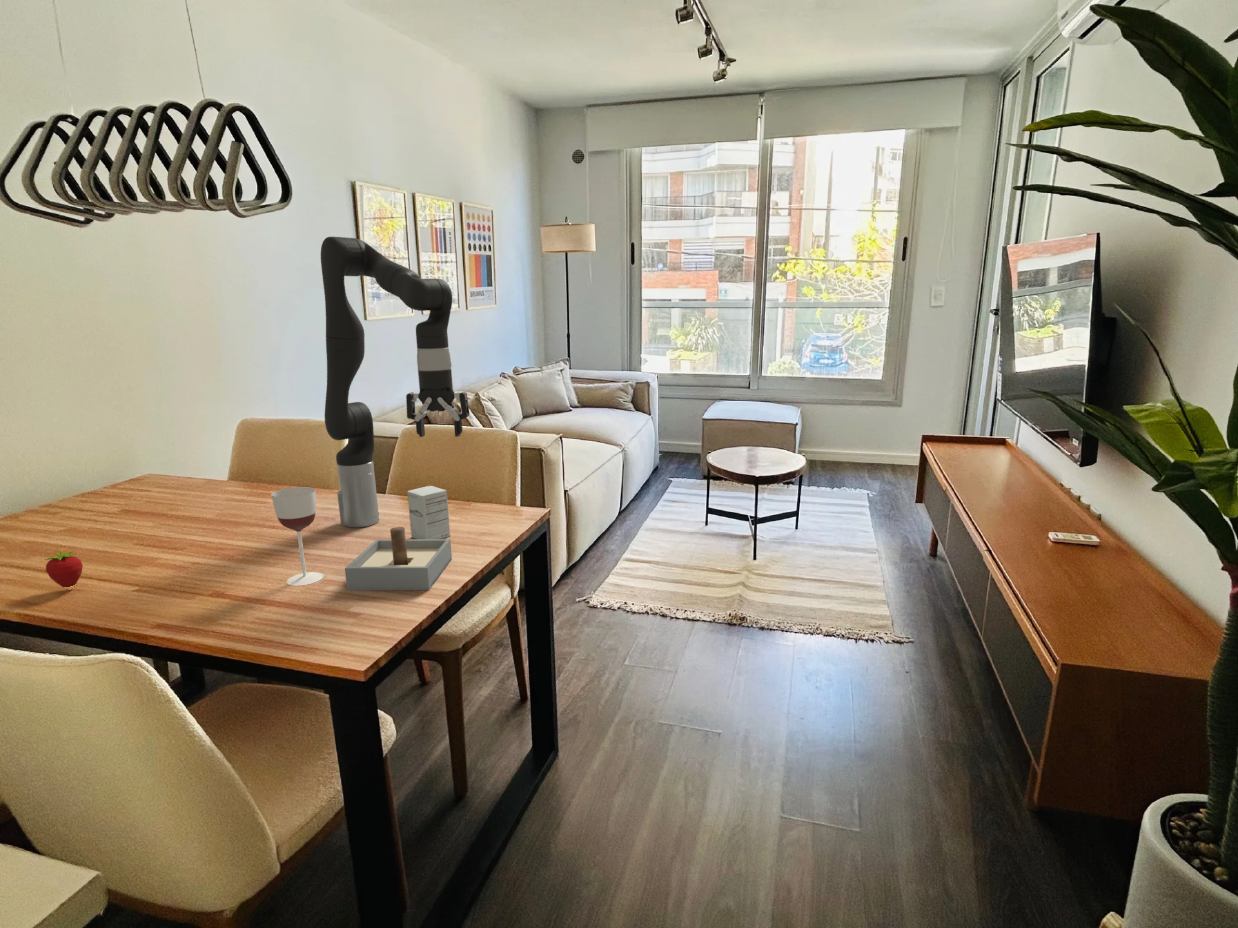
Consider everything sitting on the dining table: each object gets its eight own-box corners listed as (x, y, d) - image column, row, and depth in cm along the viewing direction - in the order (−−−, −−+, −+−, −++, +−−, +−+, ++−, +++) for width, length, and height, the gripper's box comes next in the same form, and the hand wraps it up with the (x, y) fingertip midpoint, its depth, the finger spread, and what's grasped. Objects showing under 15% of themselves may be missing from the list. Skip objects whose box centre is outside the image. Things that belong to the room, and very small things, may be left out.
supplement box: (410, 537, 178) (406, 490, 175) (435, 530, 183) (431, 484, 180) (426, 544, 173) (421, 495, 170) (451, 536, 178) (447, 489, 176)
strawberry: (62, 598, 145) (52, 554, 142) (44, 592, 148) (34, 548, 146) (94, 588, 150) (84, 545, 147) (76, 582, 153) (66, 539, 151)
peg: (392, 574, 153) (388, 531, 151) (397, 568, 156) (393, 526, 154) (405, 573, 153) (401, 531, 150) (410, 568, 156) (406, 526, 153)
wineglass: (294, 571, 157) (282, 487, 152) (332, 571, 157) (321, 486, 152) (276, 586, 149) (263, 497, 144) (316, 585, 149) (304, 497, 144)
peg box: (347, 590, 146) (344, 568, 145) (378, 559, 163) (376, 539, 162) (429, 590, 146) (427, 567, 144) (451, 559, 163) (450, 539, 161)
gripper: (398, 369, 156) (405, 439, 160) (460, 368, 156) (465, 439, 160) (409, 366, 164) (415, 433, 168) (468, 365, 163) (473, 432, 167)
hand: (440, 436), depth 164 cm, fingers open, 8 cm apart
